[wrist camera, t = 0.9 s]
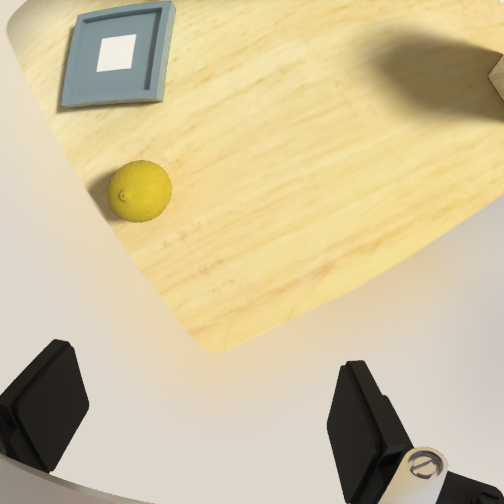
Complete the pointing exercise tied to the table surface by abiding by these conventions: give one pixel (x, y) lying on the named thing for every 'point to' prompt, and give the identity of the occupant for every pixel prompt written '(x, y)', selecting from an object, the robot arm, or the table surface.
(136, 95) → the tray
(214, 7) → the table surface
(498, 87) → the beige rectangular block
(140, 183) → the lemon
